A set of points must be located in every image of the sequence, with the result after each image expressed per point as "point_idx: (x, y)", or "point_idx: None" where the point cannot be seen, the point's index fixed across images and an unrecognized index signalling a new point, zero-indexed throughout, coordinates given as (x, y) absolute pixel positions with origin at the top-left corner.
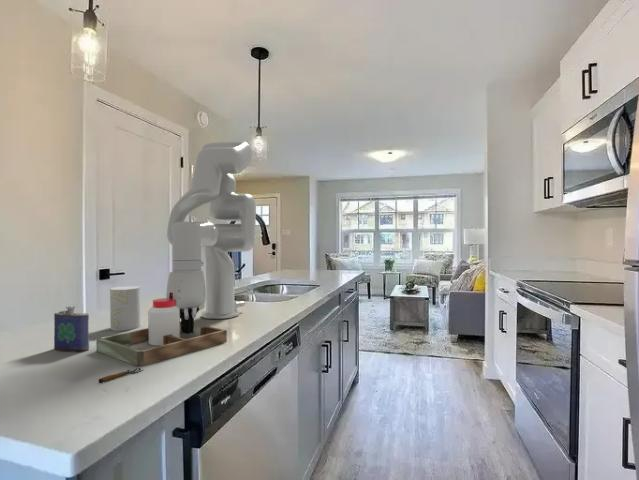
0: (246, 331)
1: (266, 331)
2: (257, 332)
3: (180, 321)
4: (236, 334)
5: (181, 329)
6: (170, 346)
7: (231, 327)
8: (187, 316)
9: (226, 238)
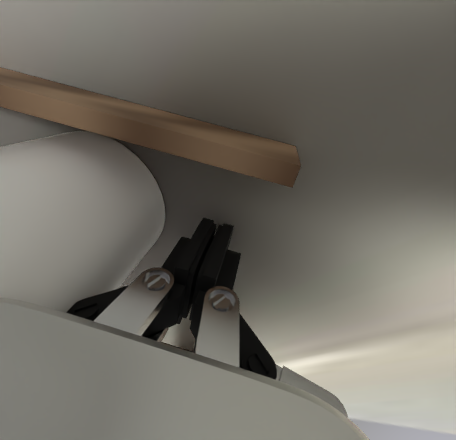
0: (362, 382)
1: (373, 421)
2: (353, 406)
3: (279, 160)
4: (308, 367)
5: (182, 237)
6: None
7: (439, 328)
8: (160, 330)
9: None
